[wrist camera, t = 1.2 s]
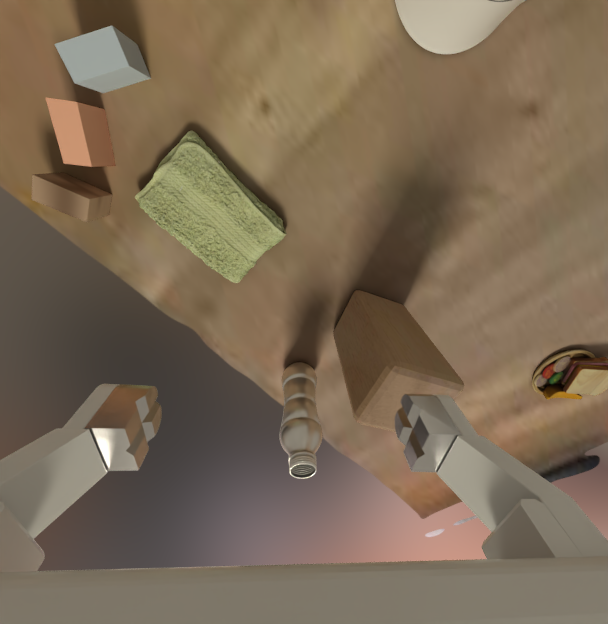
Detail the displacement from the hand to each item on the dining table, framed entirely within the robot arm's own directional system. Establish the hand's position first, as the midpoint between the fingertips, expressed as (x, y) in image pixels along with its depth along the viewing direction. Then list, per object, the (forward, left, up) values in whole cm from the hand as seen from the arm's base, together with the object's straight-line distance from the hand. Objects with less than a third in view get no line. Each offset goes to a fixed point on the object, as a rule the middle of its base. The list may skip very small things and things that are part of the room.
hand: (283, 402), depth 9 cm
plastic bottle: (+29, +5, -35) cm, 46 cm away
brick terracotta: (-7, -24, -35) cm, 43 cm away
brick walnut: (0, -27, -35) cm, 44 cm away
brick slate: (-14, -20, -35) cm, 43 cm away
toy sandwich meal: (+25, +61, -36) cm, 75 cm away
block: (+16, +16, -35) cm, 42 cm away
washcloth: (+1, -10, -36) cm, 37 cm away
